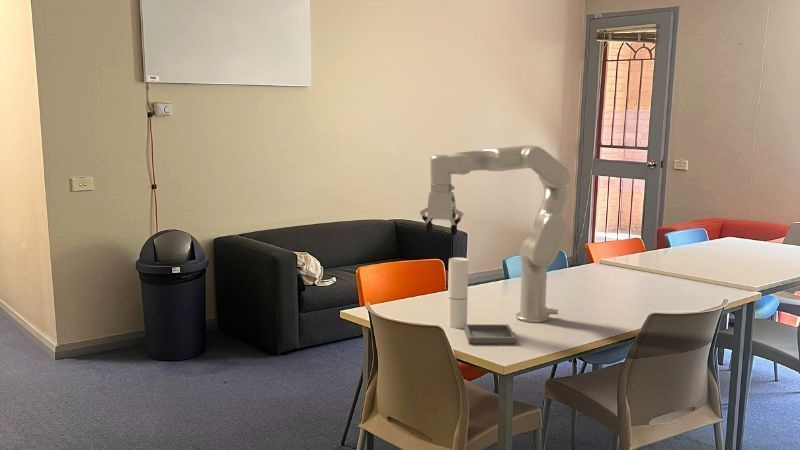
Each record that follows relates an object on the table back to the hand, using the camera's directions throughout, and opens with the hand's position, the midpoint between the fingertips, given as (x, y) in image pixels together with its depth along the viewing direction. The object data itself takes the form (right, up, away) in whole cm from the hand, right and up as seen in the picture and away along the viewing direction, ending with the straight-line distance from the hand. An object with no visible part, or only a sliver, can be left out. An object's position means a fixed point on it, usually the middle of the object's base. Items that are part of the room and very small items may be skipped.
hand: (441, 234), depth 277 cm
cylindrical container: (+6, -34, +1) cm, 35 cm away
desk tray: (+16, -36, -14) cm, 42 cm away
